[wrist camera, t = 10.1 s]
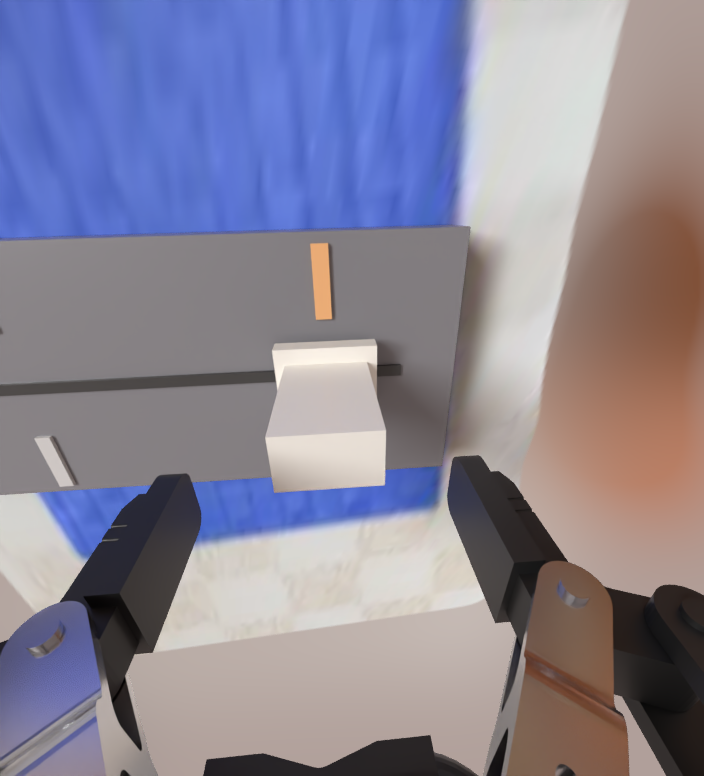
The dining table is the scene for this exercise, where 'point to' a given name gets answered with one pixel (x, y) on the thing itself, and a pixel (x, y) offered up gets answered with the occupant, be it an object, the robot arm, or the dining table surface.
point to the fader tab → (326, 417)
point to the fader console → (211, 346)
